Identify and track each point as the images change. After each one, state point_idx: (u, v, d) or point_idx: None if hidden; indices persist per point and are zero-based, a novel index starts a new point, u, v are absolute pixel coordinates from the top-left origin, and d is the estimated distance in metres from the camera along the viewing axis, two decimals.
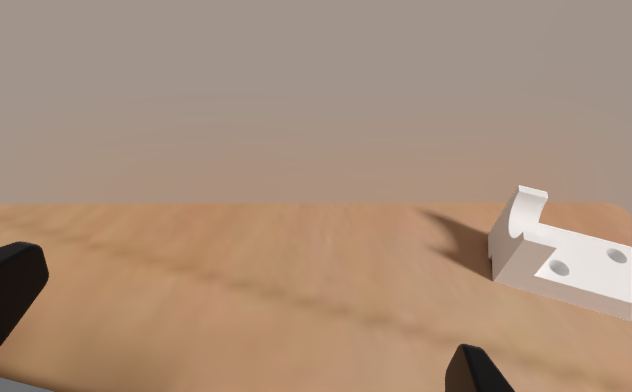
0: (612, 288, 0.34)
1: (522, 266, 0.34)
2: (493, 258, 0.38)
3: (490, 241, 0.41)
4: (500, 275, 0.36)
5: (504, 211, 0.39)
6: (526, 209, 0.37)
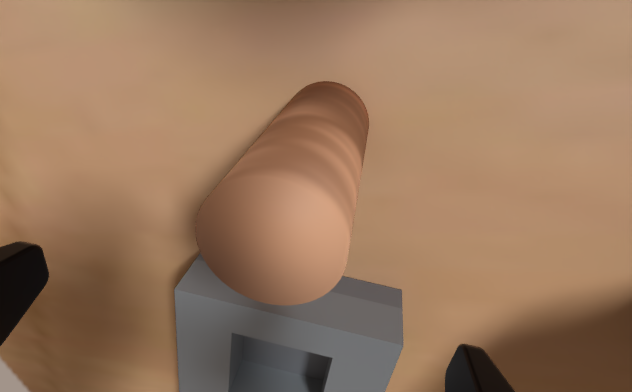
0: None
1: None
2: None
3: None
4: None
5: None
6: None
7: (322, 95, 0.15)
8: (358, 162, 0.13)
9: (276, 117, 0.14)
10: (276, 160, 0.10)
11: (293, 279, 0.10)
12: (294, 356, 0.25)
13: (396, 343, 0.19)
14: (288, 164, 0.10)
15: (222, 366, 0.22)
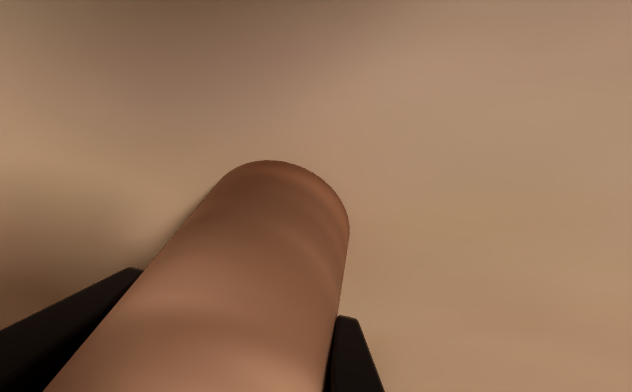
0: None
1: None
2: None
3: None
4: None
5: None
6: None
7: (248, 211, 0.08)
8: None
9: (141, 274, 0.07)
10: None
11: None
12: None
13: None
14: None
15: None
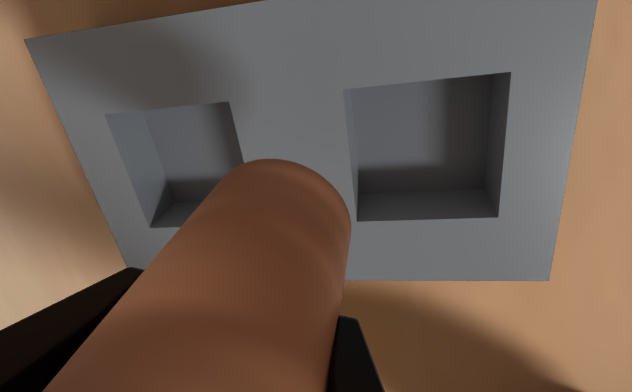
0: None
1: None
2: None
3: None
4: None
5: None
6: None
7: (251, 209, 0.08)
8: None
9: (143, 272, 0.07)
10: None
11: None
12: (392, 149, 0.17)
13: (549, 273, 0.16)
14: None
15: (415, 68, 0.13)
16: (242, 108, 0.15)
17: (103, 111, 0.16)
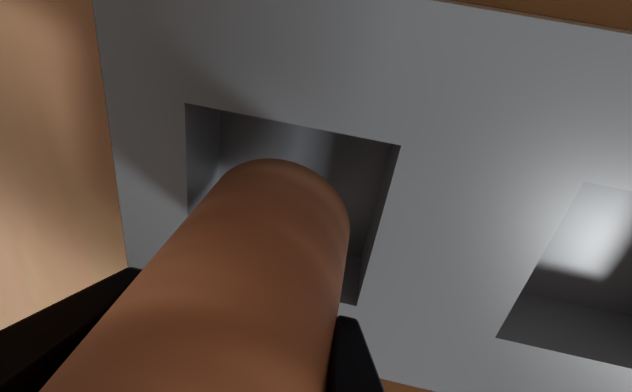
0: None
1: None
2: None
3: None
4: None
5: None
6: None
7: (249, 208, 0.08)
8: None
9: (140, 272, 0.07)
10: None
11: None
12: (549, 246, 0.13)
13: None
14: None
15: None
16: (416, 161, 0.10)
17: (185, 98, 0.10)
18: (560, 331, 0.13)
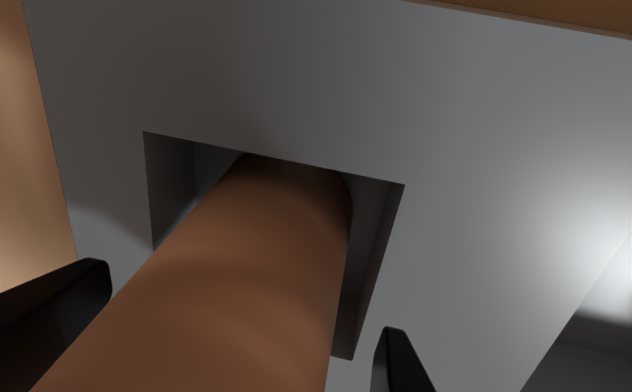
0: None
1: None
2: None
3: None
4: None
5: None
6: None
7: (262, 184, 0.08)
8: (318, 364, 0.06)
9: None
10: None
11: None
12: None
13: None
14: None
15: None
16: (424, 202, 0.08)
17: (143, 125, 0.08)
18: (588, 388, 0.11)
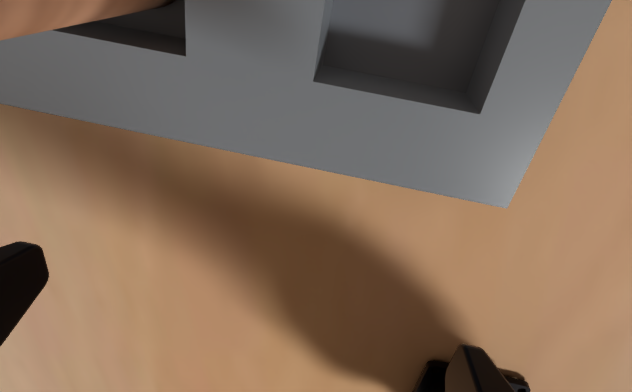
0: None
1: None
2: None
3: None
4: None
5: None
6: None
7: None
8: None
9: None
10: None
11: None
12: (376, 12, 0.14)
13: (510, 200, 0.14)
14: None
15: None
16: None
17: None
18: (382, 87, 0.14)
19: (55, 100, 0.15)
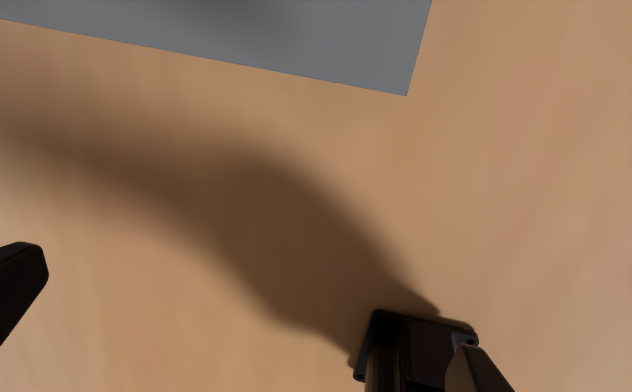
0: None
1: None
2: None
3: None
4: None
5: None
6: None
7: None
8: None
9: None
10: None
11: None
12: None
13: (408, 85, 0.13)
14: None
15: None
16: None
17: None
18: None
19: None
